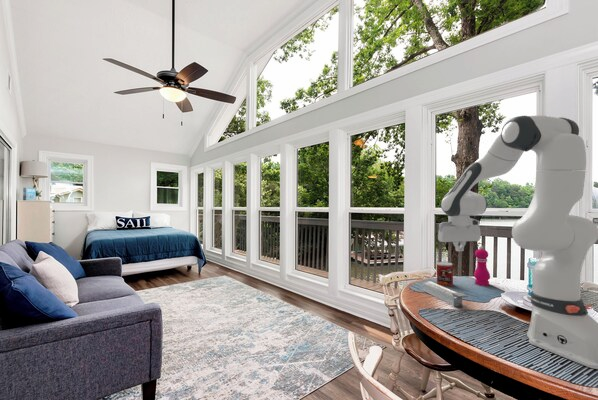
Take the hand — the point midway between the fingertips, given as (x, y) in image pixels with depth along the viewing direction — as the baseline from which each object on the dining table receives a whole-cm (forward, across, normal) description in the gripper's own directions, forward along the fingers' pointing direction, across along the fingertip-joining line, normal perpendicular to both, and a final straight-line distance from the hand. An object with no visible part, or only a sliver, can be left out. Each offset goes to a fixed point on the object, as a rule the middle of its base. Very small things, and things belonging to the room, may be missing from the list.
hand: (459, 251), depth 133 cm
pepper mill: (+21, +24, +13) cm, 34 cm away
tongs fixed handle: (+21, -12, -2) cm, 24 cm away
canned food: (+20, +5, +17) cm, 27 cm away
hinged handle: (+20, -11, -2) cm, 23 cm away
